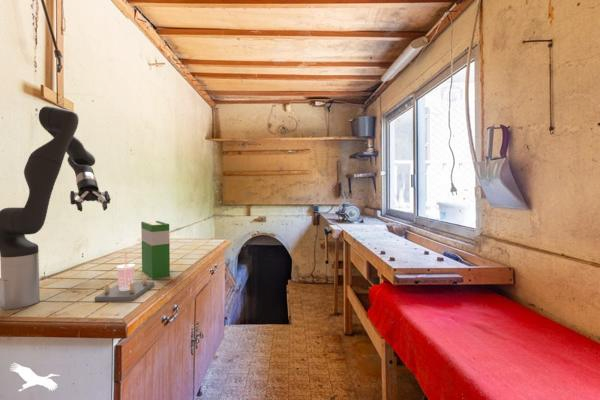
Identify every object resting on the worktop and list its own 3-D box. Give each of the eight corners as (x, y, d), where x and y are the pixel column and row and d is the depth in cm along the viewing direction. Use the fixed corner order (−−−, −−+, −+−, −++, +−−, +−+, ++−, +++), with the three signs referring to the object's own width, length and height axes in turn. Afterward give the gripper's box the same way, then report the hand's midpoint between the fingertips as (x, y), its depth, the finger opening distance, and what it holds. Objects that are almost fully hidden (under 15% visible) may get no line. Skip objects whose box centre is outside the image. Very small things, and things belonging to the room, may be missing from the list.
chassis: (132, 300, 98) (132, 286, 98) (94, 301, 98) (94, 287, 98) (154, 285, 114) (154, 273, 114) (121, 285, 114) (121, 273, 114)
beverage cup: (136, 285, 110) (136, 250, 110) (134, 290, 105) (133, 253, 104) (118, 287, 108) (118, 251, 107) (115, 292, 102) (114, 254, 102)
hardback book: (142, 270, 135) (141, 221, 135) (158, 267, 140) (157, 220, 140) (152, 279, 122) (151, 225, 122) (169, 275, 127) (169, 224, 127)
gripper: (68, 177, 122) (73, 204, 115) (106, 178, 132) (113, 203, 125) (66, 189, 126) (71, 216, 118) (104, 189, 136) (110, 214, 129)
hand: (93, 209), depth 122 cm, fingers open, 8 cm apart
